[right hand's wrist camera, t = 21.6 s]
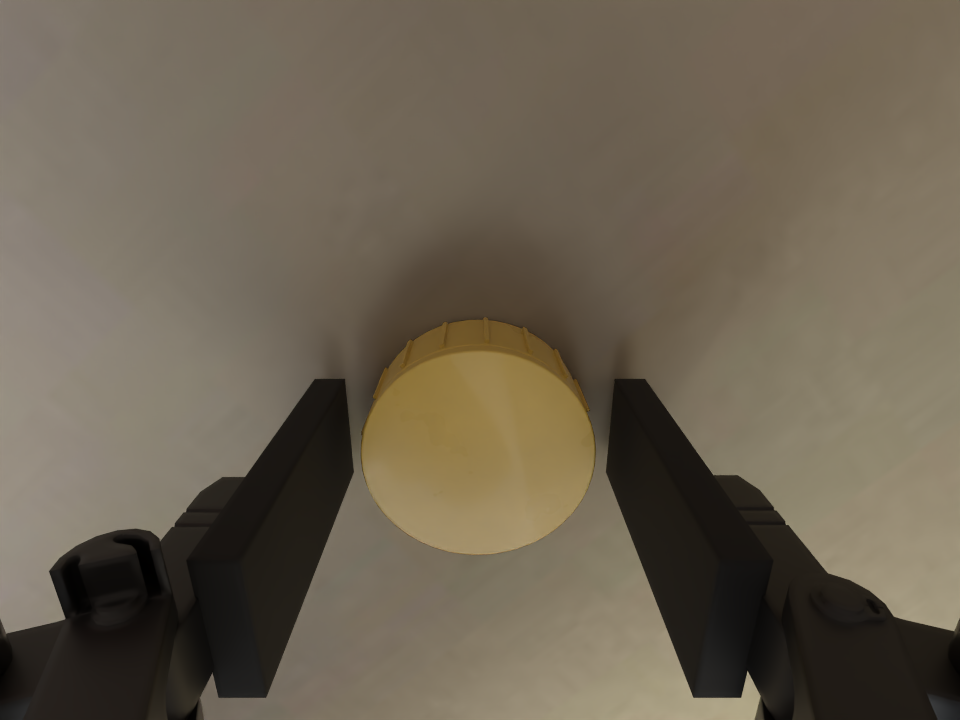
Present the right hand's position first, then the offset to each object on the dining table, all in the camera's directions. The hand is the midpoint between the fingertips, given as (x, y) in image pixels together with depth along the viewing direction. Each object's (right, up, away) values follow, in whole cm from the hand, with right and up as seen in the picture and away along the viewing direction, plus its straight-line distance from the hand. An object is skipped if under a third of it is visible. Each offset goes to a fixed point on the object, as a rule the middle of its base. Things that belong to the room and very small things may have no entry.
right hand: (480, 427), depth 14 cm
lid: (0, 0, -1) cm, 1 cm away
